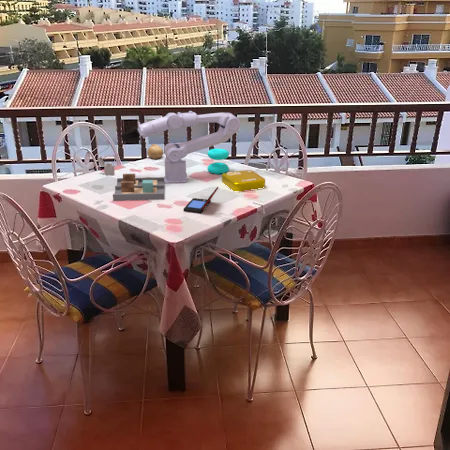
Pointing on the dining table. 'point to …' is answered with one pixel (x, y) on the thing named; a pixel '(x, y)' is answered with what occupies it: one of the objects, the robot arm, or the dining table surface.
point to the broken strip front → (130, 178)
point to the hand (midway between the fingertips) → (121, 138)
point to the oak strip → (138, 190)
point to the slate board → (159, 195)
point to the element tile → (243, 180)
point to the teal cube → (147, 186)
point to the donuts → (218, 166)
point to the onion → (155, 152)
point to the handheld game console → (198, 204)
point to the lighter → (107, 167)
